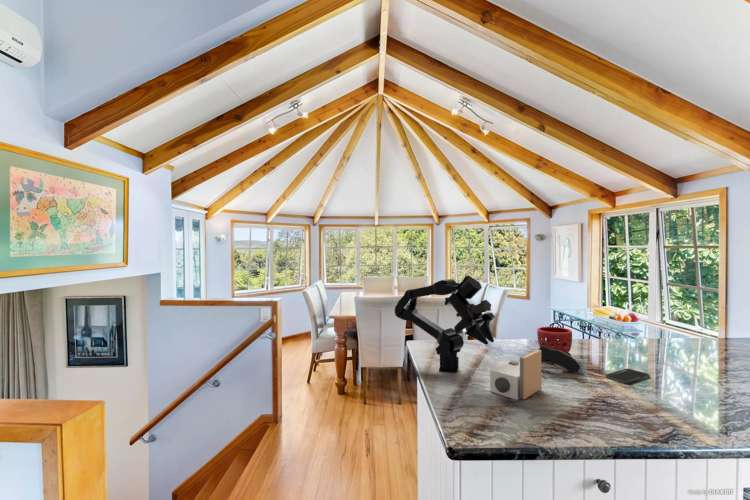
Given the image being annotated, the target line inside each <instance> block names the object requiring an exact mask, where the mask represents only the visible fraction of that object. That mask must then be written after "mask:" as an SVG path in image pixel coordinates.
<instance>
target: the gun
mask: <svg viewBox="0 0 750 500" xmlns="http://www.w3.org/2000/svg"><path fill="white" fill-rule="evenodd" d="M538 350H541V365H542V364H543V363H545V364H548V365H550V366H552V365H554V364H556V365H558V366H560V367H561V368H563V369H565V370H567V371H569V372H571V373H572V374H578V372H579V371H583V368H582V367H581V365H580V363H578V362H577V360H576V359H575V358H573V356H572V355H571V356H570V355H568V354H566V353H564V352H562V351H560V350H556V349H552V348H548V347H546V346H543V345H542V346H539V348H538ZM547 360H548V361H550V362H548V361H547Z"/></svg>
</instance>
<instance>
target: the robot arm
mask: <svg viewBox="0 0 750 500" xmlns="http://www.w3.org/2000/svg"><path fill="white" fill-rule="evenodd" d="M481 289H482V284H481V283H480V282H479V281H478V280H477V279H475V278H474V277H471V276H470V275H465V277H464V278H463V280H461V282H460V283H459V282H456V280H454V279H453V278H449V279H441V280H439V281H436V282H434V283H433V284H431V285H427V286H422V287H418V288H417V287H416V288H412V289H411V288H410V289H407V290H406V291H405V292H404V294H403V295H402V296H401V298H400V299H399V300H398V302H397V303H396V305H395V307H394V315H395V317H396V318H399V319H401V320H402V321H407V322H410V323H413V324H414V325H415V326H416V327H419V328H420V330H422V331H424V332H425V333H426V334H428V335H430V336H431V337H432V338H434V339H436V341H437V343H438V345H437V347H436V348H435V353H436V354H437V355H438V356H439V369H438V371H440V372H448V373H457V372H458V370H459V367H460V366H459V363H460V361H459V360H460V358H459V356H458V353H460V352H461V349H462V348H463V347H464V338H463V336H462V334H463V330H464V329H465V330H466V331H465V332H464V335H467V336H469V337H471V338H473V339H475V340H477V341H478V342H480V343H482V344H483V345H488V344H489V342H490V343H494V342H495V339H494V337H493V333H492V332H491V328H490V323H491V321H493V320H494V319H495V318H496V317H495V315H494V314H493V313H492V312H490V311H491V310H492V303H490V301H488V300H487V299H484V300H482V301H480V303H477V304H476V305H475V303H470V302H469V301H468V300H472V298H473V297H475V296H476V295H477V294H478V293H479V292H480V290H481ZM432 295H433V296H448V295H449V296H448V297H445V299H444V300H445V301H444V305H445V306H447V305H451V307H452V308H453V309H454V310H455V312H456V314H455V316H456V317H457V318H459V317H460V320H459V321H458V322H457V323H456V324H455V325H454V327H453V328H452V327H449V328H446V329H444V328H442V327H441V326H440V325H437V324H436V323H435V322H433V321H431V320H430V319H429V318H427V317H425V316H424V315H422V314H421V313H419V312H418V311H419V310H418V308H416V307H417V304H418V303H417V302H418V298H422V297H427V296H432Z"/></svg>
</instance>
